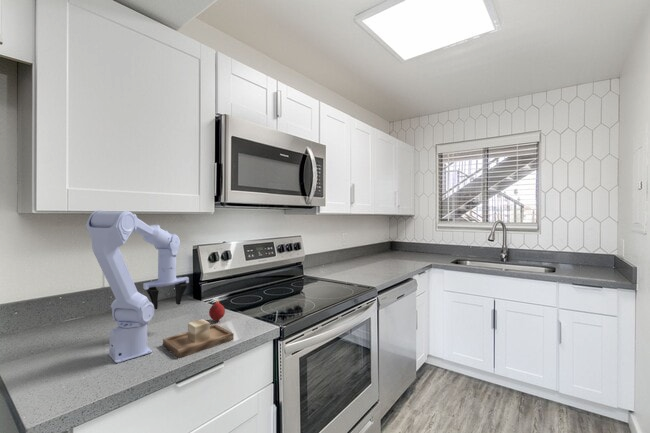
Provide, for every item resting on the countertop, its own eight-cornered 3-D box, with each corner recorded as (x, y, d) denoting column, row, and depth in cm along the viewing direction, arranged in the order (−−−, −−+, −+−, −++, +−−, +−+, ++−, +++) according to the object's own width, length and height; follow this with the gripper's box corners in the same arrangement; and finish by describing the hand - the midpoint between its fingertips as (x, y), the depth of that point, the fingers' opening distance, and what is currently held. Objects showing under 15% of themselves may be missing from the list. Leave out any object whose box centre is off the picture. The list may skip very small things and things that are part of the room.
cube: (194, 342, 98) (195, 326, 98) (187, 338, 101) (187, 322, 101) (209, 337, 101) (209, 322, 101) (202, 333, 105) (202, 319, 105)
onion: (219, 324, 117) (219, 303, 117) (206, 323, 119) (206, 302, 118) (227, 319, 123) (227, 299, 123) (214, 318, 124) (214, 298, 124)
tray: (178, 358, 90) (179, 350, 90) (162, 345, 98) (162, 338, 98) (233, 339, 104) (233, 333, 104) (215, 330, 112) (215, 324, 112)
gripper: (183, 263, 117) (182, 299, 117) (140, 268, 106) (140, 308, 106) (191, 266, 112) (191, 303, 112) (147, 271, 101) (147, 313, 101)
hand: (166, 306), depth 109 cm, fingers open, 7 cm apart
